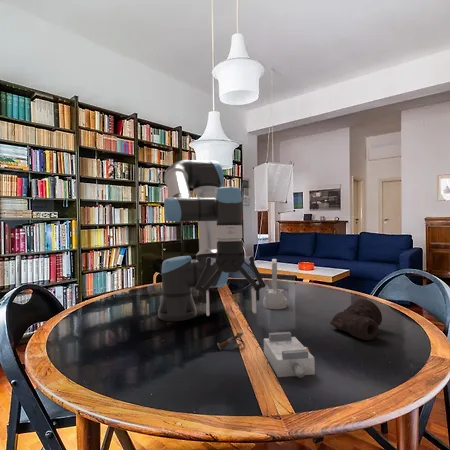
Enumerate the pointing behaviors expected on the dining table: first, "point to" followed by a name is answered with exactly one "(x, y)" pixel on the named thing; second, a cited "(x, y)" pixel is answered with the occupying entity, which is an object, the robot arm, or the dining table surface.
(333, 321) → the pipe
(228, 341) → the wooden post with brackets
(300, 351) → the machine vise
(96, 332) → the dining table surface
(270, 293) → the engine component
